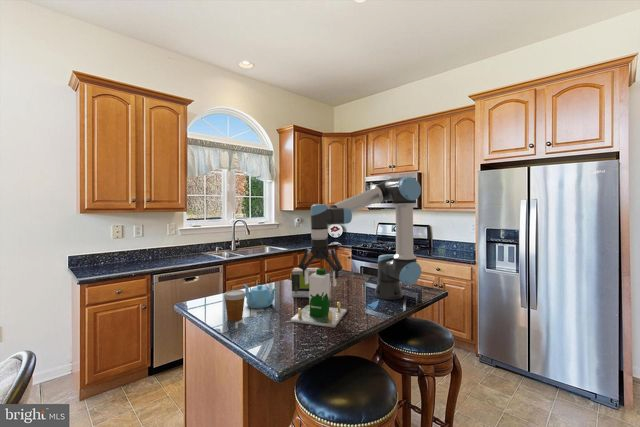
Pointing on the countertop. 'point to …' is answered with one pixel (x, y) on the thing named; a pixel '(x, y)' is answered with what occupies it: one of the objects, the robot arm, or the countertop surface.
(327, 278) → the milk carton
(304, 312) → the white flat square slab
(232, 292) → the disposable coffee cup
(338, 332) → the countertop surface
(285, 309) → the countertop surface
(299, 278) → the tea box
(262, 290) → the teapot
